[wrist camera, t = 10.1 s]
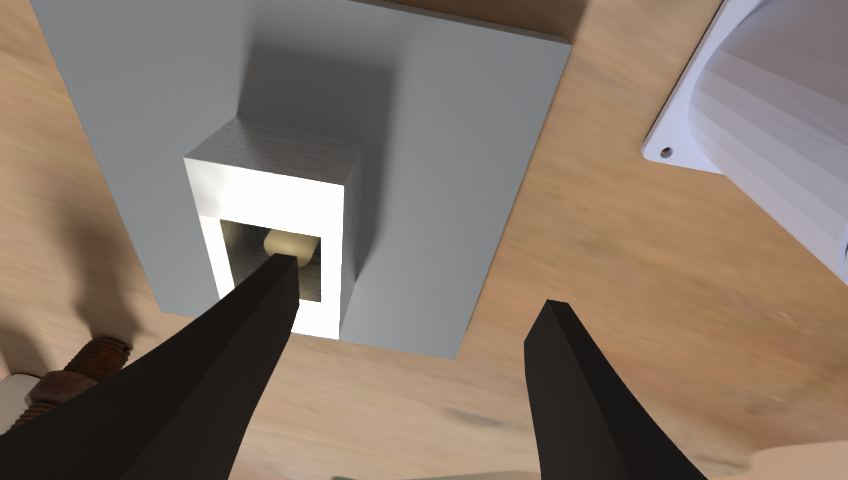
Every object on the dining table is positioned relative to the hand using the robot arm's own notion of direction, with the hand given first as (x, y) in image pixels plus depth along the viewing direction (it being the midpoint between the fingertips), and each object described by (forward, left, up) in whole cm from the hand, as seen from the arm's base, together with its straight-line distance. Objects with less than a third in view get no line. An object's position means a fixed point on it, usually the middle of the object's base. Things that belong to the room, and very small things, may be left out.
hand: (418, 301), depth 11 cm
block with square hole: (+6, +4, -8) cm, 11 cm away
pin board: (+6, +4, -9) cm, 12 cm away
